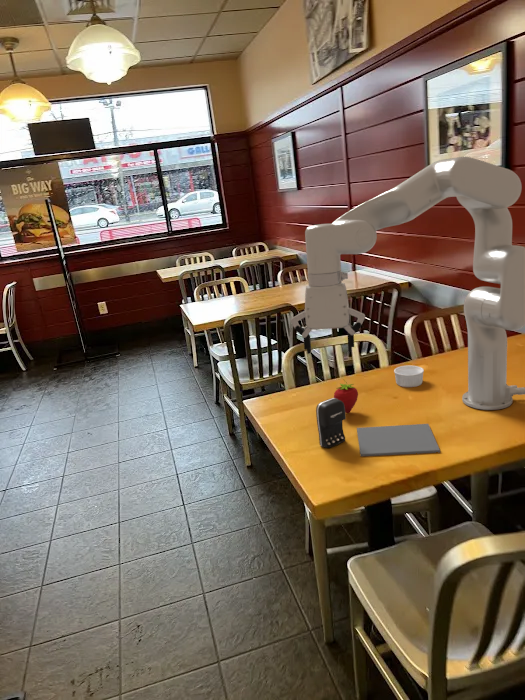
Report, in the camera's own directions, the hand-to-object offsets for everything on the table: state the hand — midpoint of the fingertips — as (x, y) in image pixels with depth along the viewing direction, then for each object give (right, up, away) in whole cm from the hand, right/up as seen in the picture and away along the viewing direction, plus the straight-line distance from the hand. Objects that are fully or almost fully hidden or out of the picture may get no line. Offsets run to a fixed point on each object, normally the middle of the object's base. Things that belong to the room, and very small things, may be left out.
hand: (329, 351), depth 123 cm
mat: (+17, -22, +4) cm, 28 cm away
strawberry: (+8, -18, +22) cm, 30 cm away
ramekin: (+30, -10, +39) cm, 50 cm away
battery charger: (+2, -23, +6) cm, 24 cm away
